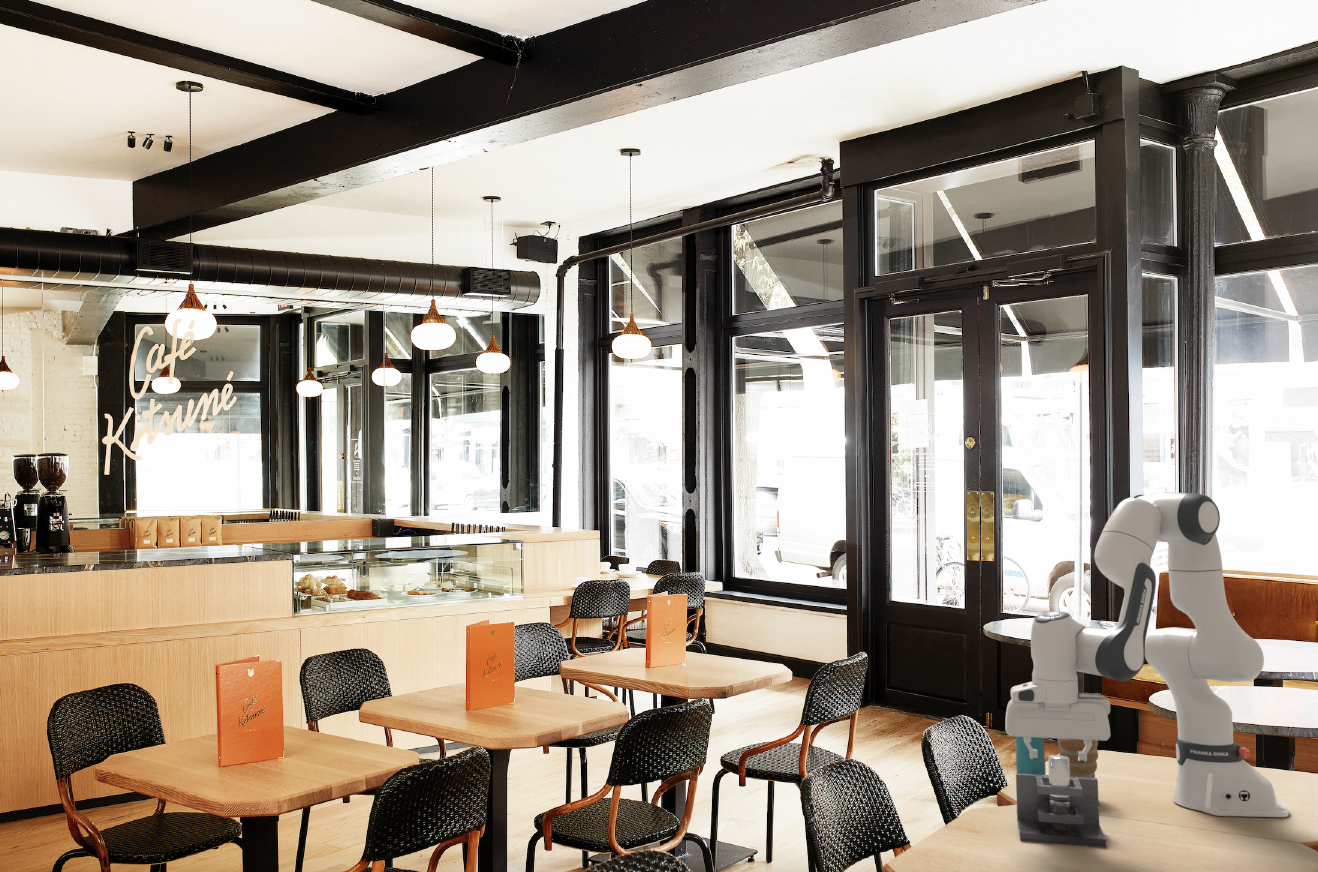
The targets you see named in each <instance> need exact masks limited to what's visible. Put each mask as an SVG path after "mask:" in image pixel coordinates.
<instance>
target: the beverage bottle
mask: <svg viewBox="0 0 1318 872" xmlns="http://www.w3.org/2000/svg"><path fill="white" fill-rule="evenodd" d="M1014 737H1015V768H1016V773H1024V774H1040V775H1046V773H1047V768H1046V767H1047V765H1046V758H1045V757H1046V753H1045V741H1044V739H1045V738H1038V737H1031V742H1029V743H1030V745H1031V747H1032V748H1033V749H1037V752H1038V754H1037V756H1038V759H1030V751H1029V749H1028V748H1027V746H1026V744H1025V743H1024V737H1016V736H1014Z"/></svg>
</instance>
